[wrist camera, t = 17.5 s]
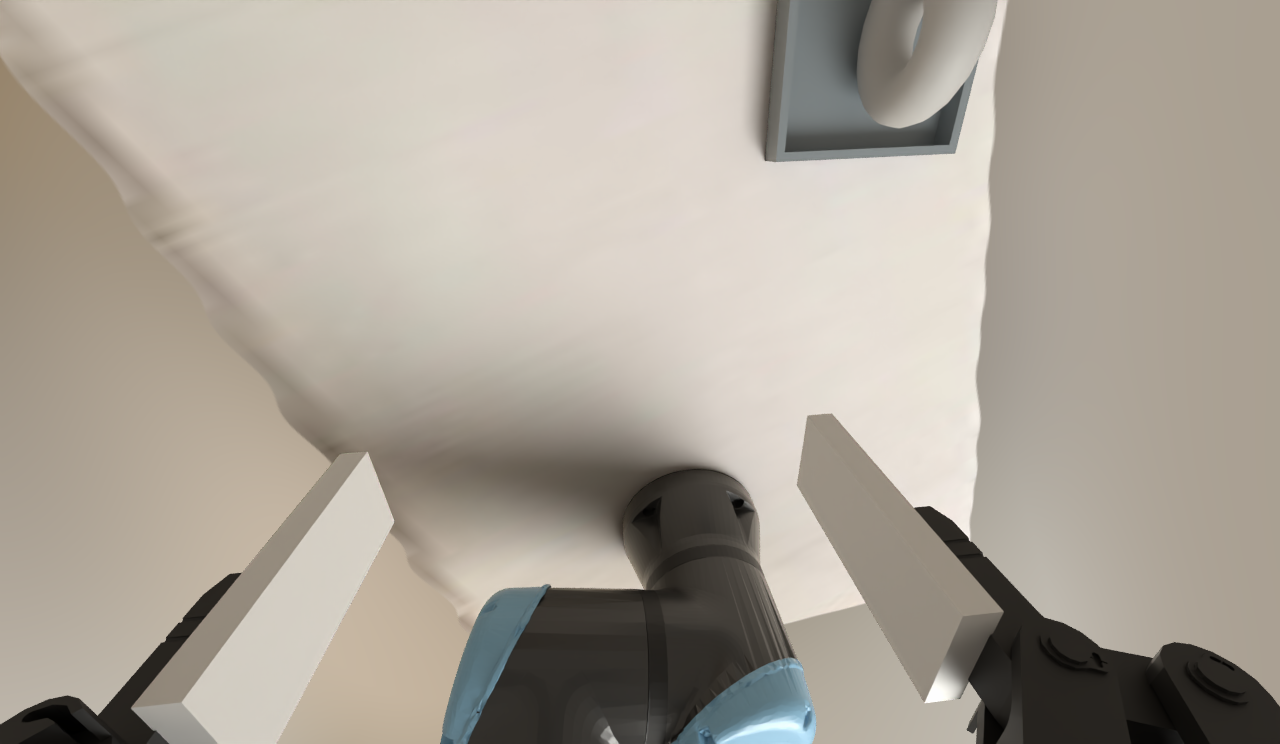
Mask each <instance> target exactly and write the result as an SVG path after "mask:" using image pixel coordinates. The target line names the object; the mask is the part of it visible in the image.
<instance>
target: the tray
mask: <svg viewBox="0 0 1280 744" xmlns="http://www.w3.org/2000/svg"><path fill="white" fill-rule="evenodd" d="M871 1H872V0H778V2H777V14H776V27H775V40H774V53H773V65H772V78H771V91H770V104H769V116H768V129H767V142H766V155H765V161H772V162H785V161H806V160H827V159H848V158H869V157H890V156H912V155H933V154H954V153H955V151H956V147H957V143H958V139H959V135H960V131H961V127H962V123H963V119H964V115H965V111H966V107H967V103H968V99H969V95H970V91H971V87H972V83H973V79H974V75H975V71H976V67H977V63H978V61H977V62H976V64H975V66H974V68H973V70H972V72H971V74H970V75H969V77H968V78H967V80H966V81H965V82H964V83H963V85H962V86H961V87H960V88H959V90H958V91H957V92H956V93H955V95H954V96H953V97H952V99H951V100H950V101H949V102H948V103H947V104H946V105H945V106H944V107H942V108H941V109H940V110H939V111H937V112H936V113H935V114H934V115H932V116H931V117H930V118H928V119H926V120H925V121H923V122H920V123H917V124H914V125H911V126H908V127H903V128H893V127H889V126H885V125H881V124H879V123H877V122H876V121H874V120H873V119H872V117H871V116H870V115H869V114H868V113H867V112H866V110H865V108H864V106H863V104H862V101H861V98H860V95H859V92H858V83H857V60H858V48H859V44H860V39H861V34H862V30H863V25H864V22H865V19H866V16H867V13H868V10H869V7H870V4H871ZM922 20H923V16H922V18H921V21H920V23H919V26H918V28H917V32H916V35H915V39H914V43H913V52H914V50H915V47H916V45H917V42H918V39H919V35H920V31H921V28H922ZM913 52H912V54H913Z"/></svg>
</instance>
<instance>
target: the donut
mask: <svg viewBox="0 0 1280 744" xmlns="http://www.w3.org/2000/svg"><path fill="white" fill-rule="evenodd" d="M996 6H997V0H872V1H871V4H870V7H869V10H868V13H867V16H866V19H865V22H864V25H863V30H862V34H861V39H860V44H859V48H858V60H857V83H858V92H859V95H860V98H861V101H862V104H863V106H864V108H865V110H866V112H867V113H868V114H869V115H870V116H871V117H872V119H873V120H874V121H876V122H877V123H879V124H881V125H885V126H889V127H893V128H903V127H908V126H911V125H914V124H917V123H920V122H923V121H925V120H926V119H928V118H930V117H931V116H932V115H934V114H935V113H936V112H937V111H939V110H940V109H941V108H942V107H944V106H945V105H946V104H947V103H948V102H949V101H950V100H951V99H952V97H953V96H954V95H955V93H956V92H957V91H958V90H959V88H960V87H961V86H962V85H963V83H964V82H965V81H966V80H967V78H968V77H969V75H970V74H971V72H972V70H973V68H974V66H975V64H976V62H977V61H978V59H979V57H980V55H981V53H982V51H983V49H984V47H985V44H986V41H987V38H988V35H989V32H990V29H991V27H992V24H993V21H994V18H995V12H996ZM922 16H923V20H922V28H921V31H920V35H919V39H918V42H917V45H916V47H915V50H914V52H913V43H914V39H915V35H916V32H917V28H918V26H919V23H920V21H921V18H922ZM912 52H913V54H912Z"/></svg>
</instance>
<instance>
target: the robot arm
mask: <svg viewBox="0 0 1280 744" xmlns="http://www.w3.org/2000/svg"><path fill="white" fill-rule="evenodd" d="M797 486H798V488H799V490H800V491H801V493H802V495H803V496H804V498H805V500H806V501H807V503H808V505H809V507H810V508H811V510H812V512H813V513H814V515H815V517H816V519H817V520H818V522H819V524H820V525H821V527H822V529H823V531H824V532H825V534H826V536H827V537H828V539H829V541H830V542H831V544H832V546H833V548H834V549H835V551H836V553H837V554H838V556H839V558H840V560H841V561H842V563H843V565H844V566H845V568H846V570H847V571H848V573H849V575H850V577H851V578H852V580H853V582H854V583H855V585H856V587H857V589H858V590H859V592H860V594H861V595H862V597H863V599H864V601H865V602H866V604H867V606H868V607H869V609H870V611H871V612H872V614H873V616H874V617H875V619H876V621H877V623H878V624H879V626H880V628H881V630H882V631H883V633H884V635H885V636H886V638H887V640H888V642H889V643H890V645H891V646H892V648H893V650H894V652H895V653H896V655H897V657H898V659H899V660H900V662H901V664H902V665H903V667H904V669H905V670H906V672H907V674H908V676H909V677H910V679H911V681H912V682H913V684H914V686H915V687H916V689H917V691H918V692H919V694H920V696H921V698H922V700H923V701H924V703H929V702H936V701H945V700H954V699H960V698H961V696H962V694H963V692H964V690H965V688H966V686H967V684H968V682H970V683H971V685H972V686H973V688H974V689H975V691H976V692H977V694H978V695H979V697H980V698H981V699H982V700H981V702H980V704H979V705H978V708H977V709H976V711H975V713H974V715H973V716H972V718H971V720H970V722H969V725H968V728H967V731H969V732H971V733H974V731H975V730H976V728H977V738H976V744H1280V706H1279V705H1278V704H1277V703H1276V701H1275V700H1274V699H1273V697H1272V696H1271V695H1270V694H1269V693H1268V692H1267V691H1266V690H1265V689H1264V688H1263V687H1262V686H1261V685H1260V684H1259V682H1258V681H1257V680H1255V679H1254V678H1253V677H1252V676H1250V675H1249V674H1247V673H1246V672H1245V671H1243V670H1242V669H1241V668H1239V667H1238V666H1236V665H1235V664H1233V663H1232V662H1230V661H1228V660H1226V659H1224V658H1222V657H1221V656H1219V655H1217V654H1215V653H1213V652H1211V651H1208V650H1205V649H1202V648H1200V647H1197V646H1194V645H1191V644H1183V643H1176V642H1174V643H1171V644H1167V645H1164V646H1163V647H1162V648H1161V649H1160V650H1159V652H1158V653H1157V654H1156V655H1155V657H1154V658H1150V657H1145V656H1140V655H1134V654H1129V653H1124V652H1118V651H1114V650H1109V649H1103V648H1100V647H1099V646H1098V645H1097V644H1096V643H1094V642H1093V641H1092V640H1090V639H1089V638H1088V637H1086V636H1085V635H1084V634H1083V633H1081V632H1080V631H1077V630H1076V629H1073V628H1072V627H1070V626H1068V625H1066V624H1064V623H1061V622H1058V621H1054V620H1051V619H1047V618H1044V617H1043V616H1042V615H1041V614H1040V613H1039V612H1038V611H1037V610H1036V609H1035V608H1034V607H1033V606H1032V605H1031V604H1030V603H1029V602H1028V601H1027V600H1026V599H1025V598H1024V596H1022V595H1021V593H1020V592H1019V591H1018V590H1017V589H1016V588H1015V587H1014V586H1013V585H1012V584H1011V583H1010V582H1009V581H1008V579H1007V578H1006V577H1005V576H1004V575H1003V574H1002V573H1001V572H1000V571H999V570H998V569H997V568H996V567H995V566H994V565H993V564H992V562H991V561H990V560H989V559H988V558H987V557H983V553H982V552H981V551H980V550H979V549H978V548H977V546H976V545H975V544H974V543H973V542H970V541H969V538H968V537H967V536H966V535H965V534H964V533H963V532H962V531H961V529H960V528H959V527H958V526H957V525H956V524H955V523H954V522H953V521H952V520H950V519H949V518H947V517H946V516H944V515H943V514H941V513H940V512H938V511H937V510H935V509H934V508H932V507H930V506H927V507H916V508H913V507H912V505H911V504H910V503H909V502H908V501H907V500H906V498H905V497H904V496H903V495H902V494H901V493H900V492H899V490H898V489H897V488H896V487H895V486H894V485H893V484H892V482H891V481H890V480H889V479H888V478H887V477H886V475H885V474H884V473H883V472H882V471H881V470H880V469H879V467H878V466H877V465H876V464H875V463H874V462H873V461H872V459H871V458H870V457H869V456H868V455H867V454H866V452H865V451H864V450H863V449H862V448H861V447H860V446H859V444H858V443H857V442H856V441H855V440H854V439H853V437H852V436H851V435H850V434H849V433H848V432H847V431H846V429H845V428H844V427H843V426H842V425H841V424H840V423H839V421H838V420H837V419H836V418H835V417H834V416H833V414H821V415H809V416H807V423H806V429H805V436H804V442H803V449H802V455H801V462H800V469H799V475H798V482H797ZM394 522H395V521H394V519H393V516H392V514H391V511H390V508H389V506H388V503H387V501H386V498H385V495H384V493H383V490H382V488H381V485H380V482H379V480H378V477H377V475H376V472H375V469H374V467H373V464H372V462H371V459H370V456H369V454H368V451H366V452H354V453H342V454H340V455H339V456H338V457H337V458H336V459H335V461H334V462H333V463H332V464H331V465H330V467H329V468H328V469H327V470H326V472H325V473H324V474H323V475H322V477H321V478H320V479H319V480H318V481H317V483H316V484H315V485H314V486H313V487H312V489H311V490H310V491H309V492H308V493H307V495H306V496H305V497H304V498H303V499H302V501H301V502H300V503H299V504H298V506H297V507H296V508H295V509H294V511H293V512H292V513H291V514H290V515H289V517H288V518H287V519H286V520H285V521H284V523H283V524H282V525H281V526H280V527H279V529H278V530H277V531H276V532H275V533H274V535H273V536H272V537H271V538H270V540H269V541H268V542H267V543H266V544H265V546H264V547H263V548H262V549H261V550H260V552H259V553H258V554H257V555H256V557H255V558H254V559H253V560H252V561H251V563H250V564H249V565H248V566H247V567H246V569H245V570H244V571H243V572H242V573H235V574H229V575H228V576H227V577H225V578H224V579H223V580H222V581H220V582H219V583H218V584H216V585H215V586H214V587H213V588H211V589H210V590H209V591H207V592H206V593H205V594H204V595H203V596H202V597H201V598H200V599H199V600H198V601H197V602H196V604H195V605H194V606H193V607H192V608H191V609H190V611H189V612H188V613H187V614H186V615H185V616H184V617H183V621H182V622H181V623H178V624H177V626H176V627H175V628H174V629H173V630H172V631H171V632H170V634H169V635H168V636H167V637H166V641H165V642H164V643H161V644H160V645H159V646H158V647H157V648H156V650H155V651H154V652H153V653H152V654H151V655H150V657H149V658H148V659H147V660H146V661H145V662H144V663H143V664H142V666H141V667H140V668H139V669H138V670H137V672H136V673H135V674H134V675H133V676H132V677H131V678H130V679H129V681H128V682H127V683H126V684H125V686H123V687H122V689H121V690H120V691H119V692H118V693H117V694H116V696H115V697H114V698H113V699H112V700H111V701H110V702H109V704H108V705H107V706H106V707H105V708H104V709H103V710H102V712H101V713H100V714H99V715H98V716H97V715H96V714H95V713H94V712H93V711H92V710H91V709H90V708H89V707H88V706H86V704H84V703H83V702H82V701H81V700H80V699H79V698H75V697H71V696H63V697H58V698H53V699H48V700H46V701H44V702H41V703H39V704H37V705H34V706H32V707H30V708H27V709H25V710H23V711H22V712H20V713H18V714H17V715H15V716H14V717H12V718H10V719H9V720H7V721H5V722H4V723H2V724H0V744H276V743H277V742H278V740H279V738H280V736H281V734H282V732H283V730H284V728H285V726H286V725H287V723H288V721H289V719H290V717H291V715H292V713H293V711H294V710H295V708H296V706H297V704H298V702H299V700H300V698H301V696H302V695H303V693H304V691H305V689H306V687H307V685H308V683H309V681H310V679H311V678H312V676H313V674H314V672H315V670H316V668H317V666H318V665H319V663H320V661H321V659H322V657H323V655H324V653H325V651H326V649H327V648H328V646H329V644H330V642H331V640H332V638H333V636H334V634H335V633H336V630H337V629H338V627H339V625H340V623H341V621H342V619H343V617H344V616H345V614H346V612H347V610H348V608H349V606H350V604H351V602H352V601H353V599H354V597H355V595H356V593H357V591H358V589H359V587H360V586H361V584H362V582H363V580H364V578H365V576H366V574H367V572H368V571H369V569H370V567H371V565H372V563H373V561H374V559H375V558H376V556H377V554H378V552H379V550H380V548H381V546H382V544H383V542H384V541H385V539H386V537H387V535H388V533H389V531H390V529H391V527H392V526H393V524H394ZM623 540H624V547H625V551H626V554H627V556H628V558H629V560H630V562H631V564H632V566H633V568H634V570H635V572H636V574H637V576H638V578H639V580H640V582H641V584H642V586H643V588H644V590H638V589H596V588H551V585H550V584H546V585H544V586H542V587H526V588H507V589H503V590H501V591H498V592H497V593H495V594H494V595H493V596H492V597H491V598H490V599H489V600H488V601H487V602H486V603H485V605H484V606H483V608H482V610H481V611H480V613H479V615H478V617H477V619H476V622H475V624H474V626H473V629H472V631H471V633H470V636H469V639H468V641H467V644H466V647H465V650H464V652H463V655H462V658H461V661H460V664H459V668H458V671H457V674H456V677H455V680H454V684H453V687H452V691H451V695H450V698H449V702H448V706H447V710H446V714H445V718H444V723H443V731H442V732H443V734H442V738H441V743H440V744H812V742H813V739H814V736H815V731H816V715H815V711H814V707H813V704H812V700H811V697H810V694H809V691H808V688H807V685H806V681H805V678H804V673H803V667H802V665H801V663H800V662H799V661H798V659H797V657H796V655H795V652H794V649H793V647H792V644H791V642H790V639H789V637H788V635H787V632H786V629H785V627H784V624H783V622H782V619H781V617H780V614H779V612H778V609H777V607H776V604H775V602H774V599H773V597H772V594H771V592H770V589H769V587H768V584H767V582H766V579H765V577H764V574H763V571H762V569H761V566H760V525H759V518H758V514H757V511H756V509H755V506H754V504H753V502H752V499H751V497H750V495H749V494H748V492H747V491H746V489H745V488H744V487H743V486H742V485H741V484H740V483H738V482H737V481H736V480H734V479H733V478H731V477H729V476H726V475H724V474H721V473H718V472H714V471H708V470H686V471H680V472H675V473H672V474H668V475H666V476H663V477H661V478H659V479H657V480H655V481H653V482H651V483H650V484H648V485H647V486H645V487H644V488H643V489H642V490H640V491H639V492H638V493H637V494H636V495H635V497H634V498H633V499H632V500H631V502H630V503H629V505H628V507H627V509H626V511H625V514H624V518H623Z"/></svg>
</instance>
